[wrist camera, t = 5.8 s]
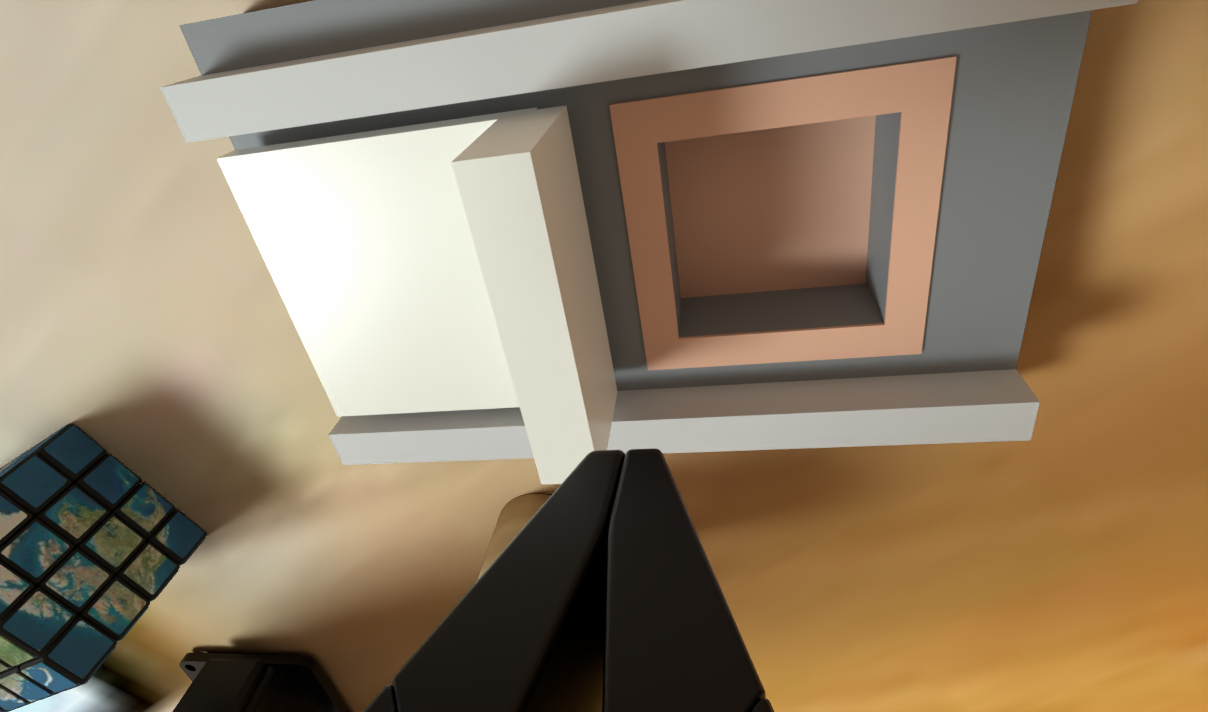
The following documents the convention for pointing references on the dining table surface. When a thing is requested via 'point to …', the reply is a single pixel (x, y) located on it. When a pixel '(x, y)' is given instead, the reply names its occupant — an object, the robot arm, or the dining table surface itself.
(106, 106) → the dining table surface
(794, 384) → the grey sliding panel frame
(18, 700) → the puzzle
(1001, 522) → the dining table surface
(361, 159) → the shutter
